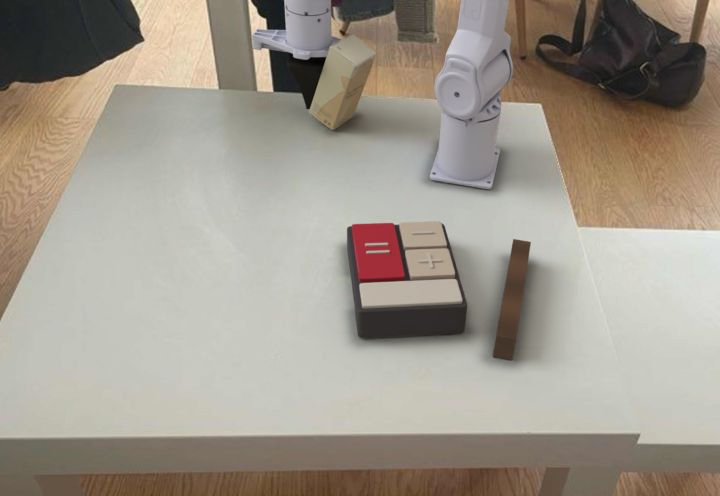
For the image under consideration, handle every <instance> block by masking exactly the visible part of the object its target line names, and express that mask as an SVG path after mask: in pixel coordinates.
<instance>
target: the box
mask: <svg viewBox="0 0 720 496" xmlns="http://www.w3.org/2000/svg"><path fill="white" fill-rule="evenodd" d="M341 39H342V40H340V41H338V42H337V43H335V44H333V45H332V46H330V48H329V51H328V55H327V58H326V61H325V64H324V67H323V70H322V73H321V76H320V79H319V82H318V85H317V88H316V92H315V95H314V98H313V101H312V104H311V107H310V109H308V113H309V114H310V115H311V116H313V117H314V118H315V119H316V120H318V121H319V123H322V124H323V125H325V127H327V128H328V129H329V130H331V131H334V130H336V129H337V128H339V127H340V126H342V125H344V124H345V123H347V122H348V121H349V120H351V119H352V118H353V117H354V115H355V113H356V110H357V108H358V105H359V102H360V101H361V97H362V95H363V92H364V90H365V87H366V84H367V81H368V79H369V75H370V73H371V71H372V68H373V65H374V62H375V59H376V58H377V55H378V53H377V52H376V51H375V50H374V49H372V48H371V47H370V46H369V45H368V44H367V43H365V42H364V41H363V40H361V39H360V38H358V37H357V36H356V35H355V34H353V33H350V34H349V35H347V36H345V37H343V38H341Z"/></svg>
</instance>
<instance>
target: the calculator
mask: <svg viewBox="0 0 720 496" xmlns="http://www.w3.org/2000/svg"><path fill="white" fill-rule="evenodd" d="M346 251H347V257H348V266H349V267H348V268H349V273H350V282H351V289H352V295H353V296H352V297H353V306H354V315H355V316H354V317H355V325H356V332H357V333H356V334H357V337H358V338H360V339H371V338H372V339H373V338H390V337H409V336H427V335H428V336H429V335H443V334H461V333H463V332H465V328H466V319H467V313H468V312H467V311H468V302H467V299H466V295H465V291H464V288H463V285H462V281H461V278H460V274H459V270H458V268H457V264H456V261H455V258H454V253H453V250H452V246H451V243H450V240H449V236H448V233H447V228H446V226H445V224H444V223H442V222H441V221H440V220H439V221H438V220H437V221H436V220H435V221H433V220H432V221H407V222H399V224H394V223H393V222H377V223H376V222H375V223H373V222H372V223H353V224H351V225H350V226H347V228H346Z"/></svg>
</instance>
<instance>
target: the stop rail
mask: <svg viewBox="0 0 720 496" xmlns="http://www.w3.org/2000/svg"><path fill="white" fill-rule="evenodd" d="M531 243H532V242H531V241H528V240H522V239H515V238H513V239H512V243H511V249H510V255H509V260H508V268H507V273H506V278H505V282H504V289H503V295H502V300H501V305H500V310H499V317H498V323H497V329H496V334H495V338H494V339H495V340H494V344H493V345H494V346H493V350H492V351H493V352H492V357H493V358H497V359H502V360H507V361H508V360H509V361H513V359H514V358H513V357H514V352H515V348H516V342H517V337H518V331H519V323H520V317H521V310H522V304H523V299H524V298H523V297H524V291H525V285H526V284H525V283H526V277H527V271H528V264H529V258H530V250H531Z"/></svg>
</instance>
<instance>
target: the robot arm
mask: <svg viewBox="0 0 720 496" xmlns="http://www.w3.org/2000/svg"><path fill="white" fill-rule="evenodd" d="M283 1H284V19H285V20H284V21H285V29H263V28H256V29H255V30H254V32H253V33H252V34H251V40H252V41H251V42H252V49H253V50H257V51H262V49H265V50H272V51H278V52H284V53H289V55H288V60H287V62H286V65H287V66H286V67H287V69H288V70H289V72H290V73H291V75H292V76H293V78H294V80H295V82H296V83H297V86H298V87H299V90H300V92H301V95H302V98H303V102H304V106H305V109H306V110H310V107H311V104H312V101H313V98H314V95H315V92H316V88H317V85H318V82H319V79H320V76H321V73H322V70H323V67H324V64H325V61H326V58H327V55H328V51H329V48H330V46H332V45H333V44H335V43H337V42H338V41H340V40H342V39H343V38H339V37H337V36H334V35H333V34H332V30H333V29H332V0H283ZM509 3H510V0H460V5H459V14H458V21H457V29H456V32H455V34H454V36H453V38H452V40H451V42H450V44H449V46H448V48H447V49H446V53H445V57H444V64H443V67H442V69H441V70H440V72H439V73H438V74H437V75H436V78H435V81H434V85H433V88H434V89H433V91H434V96H435V98H436V99H435V100H436V101H437V103H438V105H439V106H440V108H441V115H440V124H439V125H440V126H439V139H438V149H437V152H436V154H435V155H436V156H435V158H434V161H433V163H432V167H431V170H430V174H429V179H430V180H431V181H436V182H441V183H448V184H452V185H453V184H454V185H461V186H466V187H473V188H479V189H484V190H491V189H492V188H493V185H494V180H495V175H496V171H497V166H498V162H499V159H500V155H501V154H500V153H501V149H500V148H499V147H497V140H498V134H499V133H498V132H499V125H500V120H501V119H500V118H501V111H502V96H501V95H502V90H503V89H504V88H505V87H506V86H507V85H508V84H509V83H510V81H511V80H512V78H513V74H514V63H513V60H512V56H511V42H512V37H511V35H510V34H509V33H507V31H506V30H505V29H506V28H505V27H506V22H507V15H508V9H509Z"/></svg>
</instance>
